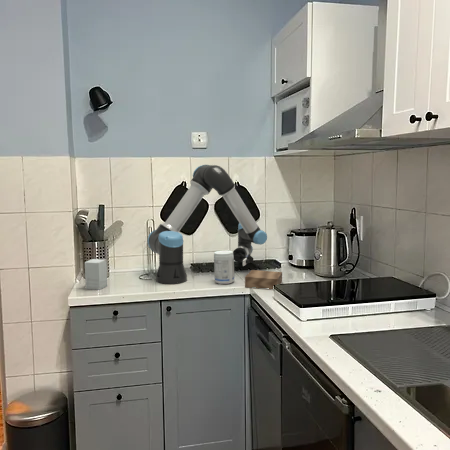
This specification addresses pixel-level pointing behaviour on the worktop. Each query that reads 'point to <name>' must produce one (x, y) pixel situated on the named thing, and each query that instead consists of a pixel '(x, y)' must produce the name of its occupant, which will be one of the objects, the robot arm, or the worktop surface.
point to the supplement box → (95, 274)
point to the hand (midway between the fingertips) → (230, 262)
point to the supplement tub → (224, 266)
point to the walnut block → (262, 279)
